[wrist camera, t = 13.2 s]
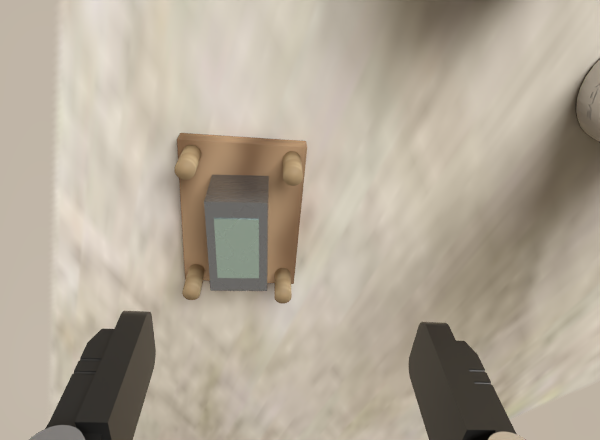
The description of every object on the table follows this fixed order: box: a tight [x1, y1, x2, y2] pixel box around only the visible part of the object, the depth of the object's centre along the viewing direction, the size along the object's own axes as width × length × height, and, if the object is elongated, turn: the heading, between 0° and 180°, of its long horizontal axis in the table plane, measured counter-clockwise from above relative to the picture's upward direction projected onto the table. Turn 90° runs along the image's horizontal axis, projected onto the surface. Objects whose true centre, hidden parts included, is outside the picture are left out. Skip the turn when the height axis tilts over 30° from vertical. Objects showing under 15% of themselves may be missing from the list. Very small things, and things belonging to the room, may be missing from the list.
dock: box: [175, 133, 307, 303], centre depth 41 cm, size 11×15×5 cm
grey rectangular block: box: [204, 175, 269, 291], centre depth 40 cm, size 5×9×5 cm, turn 177°
